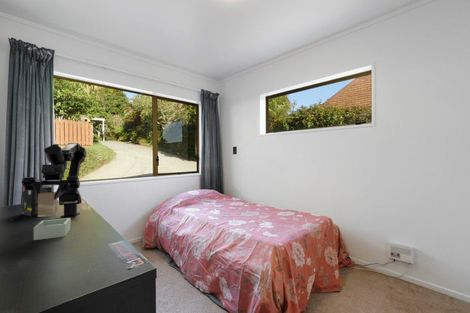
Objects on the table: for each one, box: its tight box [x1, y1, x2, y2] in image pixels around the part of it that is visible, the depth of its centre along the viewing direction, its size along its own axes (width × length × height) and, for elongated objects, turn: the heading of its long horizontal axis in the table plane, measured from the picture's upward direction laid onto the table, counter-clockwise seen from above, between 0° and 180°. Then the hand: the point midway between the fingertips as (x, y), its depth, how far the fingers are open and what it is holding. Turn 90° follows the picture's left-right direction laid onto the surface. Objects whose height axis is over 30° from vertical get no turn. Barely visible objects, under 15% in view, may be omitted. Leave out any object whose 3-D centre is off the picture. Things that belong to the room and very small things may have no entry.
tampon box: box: [21, 185, 53, 217], centre depth 121 cm, size 11×9×15 cm
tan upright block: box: [37, 191, 58, 218], centre depth 90 cm, size 4×5×9 cm
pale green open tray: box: [33, 217, 72, 241], centre depth 89 cm, size 10×10×5 cm
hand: (46, 199), depth 88 cm, fingers closed on tan upright block, 5 cm apart
